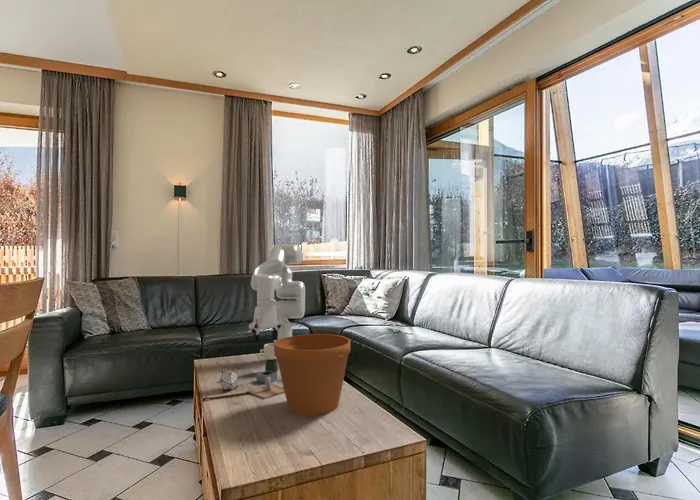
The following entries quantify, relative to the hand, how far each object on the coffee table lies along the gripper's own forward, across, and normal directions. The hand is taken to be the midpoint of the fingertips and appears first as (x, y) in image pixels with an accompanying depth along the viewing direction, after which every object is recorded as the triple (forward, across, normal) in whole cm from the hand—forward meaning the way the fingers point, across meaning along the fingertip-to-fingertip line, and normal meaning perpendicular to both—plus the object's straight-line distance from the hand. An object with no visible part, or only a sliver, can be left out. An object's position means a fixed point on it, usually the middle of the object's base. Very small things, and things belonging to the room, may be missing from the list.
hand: (266, 341), depth 174 cm
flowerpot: (+18, +6, +37) cm, 42 cm away
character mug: (+18, -10, -10) cm, 23 cm away
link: (+18, 0, 0) cm, 18 cm away
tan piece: (+18, +8, +12) cm, 23 cm away
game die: (+18, +17, -3) cm, 25 cm away
